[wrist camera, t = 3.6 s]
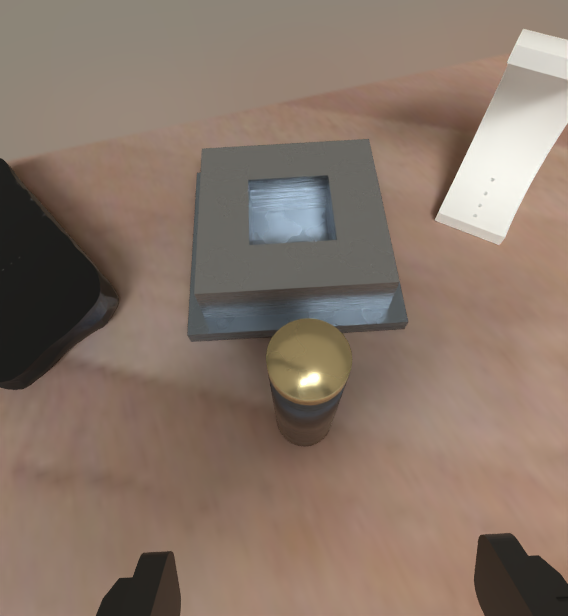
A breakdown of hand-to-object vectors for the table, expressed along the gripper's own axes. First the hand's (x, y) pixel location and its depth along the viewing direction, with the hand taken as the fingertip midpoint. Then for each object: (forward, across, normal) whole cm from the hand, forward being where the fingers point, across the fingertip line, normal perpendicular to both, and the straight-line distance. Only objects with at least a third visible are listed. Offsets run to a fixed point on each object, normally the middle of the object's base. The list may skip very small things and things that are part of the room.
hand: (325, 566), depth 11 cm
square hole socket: (+20, 0, -5) cm, 20 cm away
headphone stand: (+22, -14, -7) cm, 27 cm away
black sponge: (+19, +18, -4) cm, 27 cm away
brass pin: (+12, 0, +3) cm, 12 cm away
